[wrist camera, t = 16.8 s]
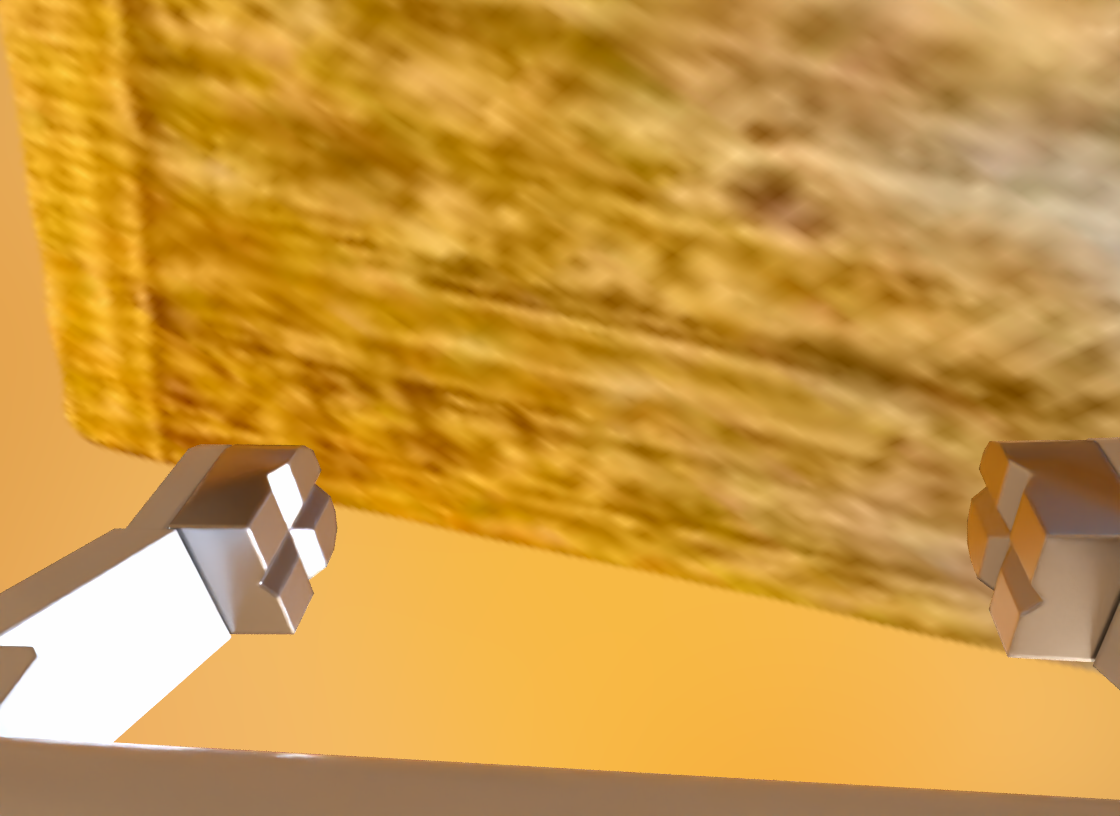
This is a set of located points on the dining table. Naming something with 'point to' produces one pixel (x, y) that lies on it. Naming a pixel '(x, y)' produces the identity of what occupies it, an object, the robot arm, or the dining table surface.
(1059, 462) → the robot arm
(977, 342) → the dining table surface
